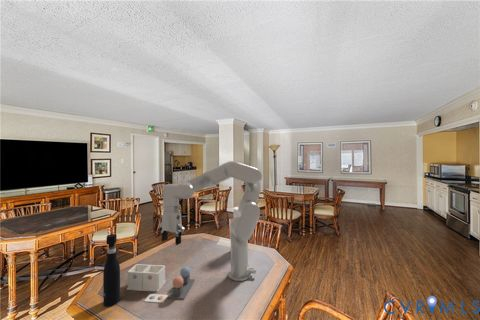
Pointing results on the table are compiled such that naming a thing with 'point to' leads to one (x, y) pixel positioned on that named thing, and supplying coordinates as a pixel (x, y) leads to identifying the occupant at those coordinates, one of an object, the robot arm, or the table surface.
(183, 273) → the slate ball
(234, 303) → the table surface
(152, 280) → the two-slot cubby shelf
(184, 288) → the ball stand
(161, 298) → the card
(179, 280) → the terracotta ball
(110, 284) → the wine bottle
